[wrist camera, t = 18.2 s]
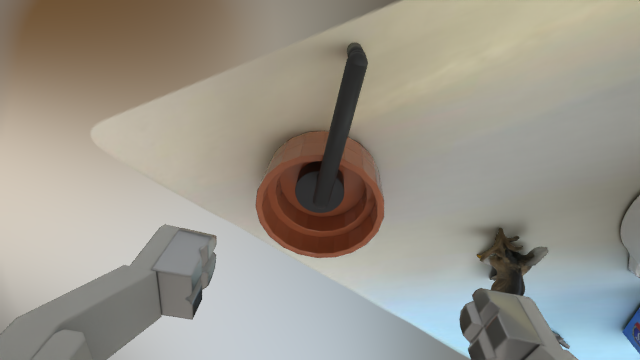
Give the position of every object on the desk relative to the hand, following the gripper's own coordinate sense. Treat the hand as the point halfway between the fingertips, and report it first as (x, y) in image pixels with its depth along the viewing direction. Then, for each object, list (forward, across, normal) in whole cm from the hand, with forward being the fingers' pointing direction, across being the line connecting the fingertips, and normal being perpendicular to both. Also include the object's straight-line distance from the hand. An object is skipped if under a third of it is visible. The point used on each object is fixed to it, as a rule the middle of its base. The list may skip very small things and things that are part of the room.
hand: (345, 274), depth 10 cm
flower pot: (+21, 0, +10) cm, 23 cm away
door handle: (+21, 0, +4) cm, 21 cm away
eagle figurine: (+21, -22, +15) cm, 34 cm away
